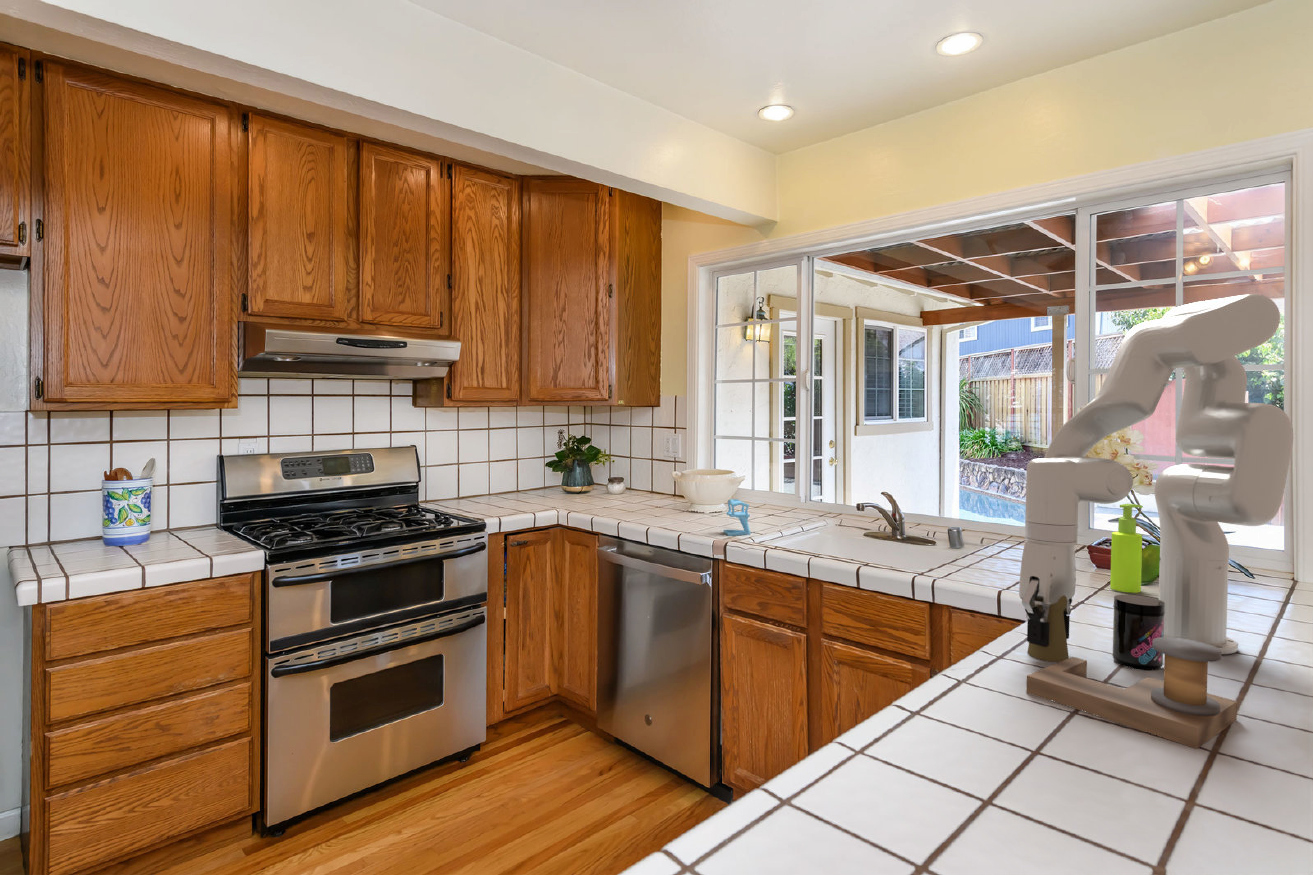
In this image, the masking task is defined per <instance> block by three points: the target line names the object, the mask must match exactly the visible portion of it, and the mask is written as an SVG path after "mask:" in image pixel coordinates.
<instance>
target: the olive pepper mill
mask: <svg viewBox="0 0 1313 875" xmlns="http://www.w3.org/2000/svg"><path fill="white" fill-rule="evenodd" d="M1043 600H1044V599H1041V598H1036V601H1041V602H1043ZM1035 606H1036V607H1038V608H1039V609H1040V611H1041V612H1042V606H1038V605H1035ZM1066 607H1067V597H1066V596H1062V597H1060V599H1059V600H1058V602H1057V603H1055V604H1052V605H1050V608H1049V612H1048V617H1047V621H1046V622H1049V646H1047V647H1043V646H1039V645H1035V644H1032V643H1029V642H1028V647H1027V652H1026V653H1027V654H1028V656H1031V657H1032V658H1035V659H1038V660H1042V661H1046V662H1054V663H1059V662H1061V661H1063V660H1066V659H1068V658H1070V657H1069V649H1068V642H1067V641H1068V639H1066V631H1065V623H1064V615H1063V611H1064V610H1065V609H1066Z"/></svg>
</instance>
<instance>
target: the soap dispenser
mask: <svg viewBox="0 0 1313 875" xmlns="http://www.w3.org/2000/svg"><path fill="white" fill-rule="evenodd" d="M1119 508H1122V516H1121V517H1118V525H1117V526H1118V527H1117V528H1118V529H1117V531H1112V532H1111V544H1110V545H1111V547H1110V548H1111V549H1110V582H1109V583H1110V589H1111V590H1114V591H1116V592H1121V593H1135V594H1137V593H1141V591H1142V563H1143V561H1142V560H1143V534H1140V533H1138V532H1137V519H1136V518H1134V517H1133V508H1138V509H1139V508H1140V509H1142V508H1143V505H1141V504H1134V503H1122V504H1119Z"/></svg>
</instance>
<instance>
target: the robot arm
mask: <svg viewBox="0 0 1313 875" xmlns="http://www.w3.org/2000/svg"><path fill="white" fill-rule="evenodd" d="M1280 323H1281V312H1280V310H1279V307H1278V305H1277V304H1276V302H1274V301H1273V299H1271V298H1270V297H1268V296H1265V295H1263V294H1259V293H1247V294H1241V295H1234V296H1228V297H1223V298H1222V297H1221V298H1217V299H1210V300H1208V299H1207V300H1205V301H1204V300H1203V301H1202V300H1201V301H1196V302H1192V303H1191V302H1190V303H1188V304H1183V305H1181V306H1177V307H1176V306H1175V307H1174V308H1172V309H1169V311H1167V312H1166V313H1165V314H1164V315H1163V317H1162V318H1159V319H1153V320H1149V321H1144V322H1141V323H1139V324H1136V325H1134V326H1133V327H1132V328H1130V329H1129V331H1127V333H1126V334H1125V336H1124V338H1123V340H1122V342H1121V345H1120V347H1119V349H1118V351H1117V353H1116V355H1115V357H1114V359H1113V362H1112V364H1111V366H1110V368H1109V370H1108V372H1107V374H1106V377H1105V379H1104V381H1103V383H1102V384H1101V387H1100V389H1099V392H1098V393H1097V395H1096V396H1095V397H1094V398H1093V400H1091V401H1090V402H1088V403H1087V404H1085V405H1084V406H1083V407H1082V408H1081V409H1079V411H1077V412H1076V413H1075V414H1074V415H1073V416H1071V418H1070V419H1068V420H1067V421H1066V422H1065V423H1064V424H1063V425H1062V426H1061V427H1060V428H1059V430H1058V431H1057V432H1056V433H1055V435H1054V437H1053V438H1052V440H1051V442H1050V444H1049V446H1048V448H1047V450H1046V452H1045V454H1044V456H1043V458H1034V459H1031V460H1029V462H1028V463H1027V465H1026V475H1025V476H1026V477H1025V479H1026V480H1025V481H1026V482H1025V483H1026V484H1025V515H1024V516H1025V523H1024V540H1025V542H1024V546H1023V550H1022V556H1021V563H1020V574H1019V589H1018V596H1019V599H1020V600H1021V604H1022V606H1023V609H1024V610H1025V612H1026V615H1025V618H1026V620H1027V623H1026V624H1027V626H1026V628H1027V630H1026V631H1027V632H1026V634H1027V635H1026V640H1027V643H1028V644H1029V643H1032V644H1035V645H1039V646H1043V647H1047V646H1049V622H1046V621H1047V617H1048V612H1049V608H1050V605H1052V604H1055V603H1057V602H1058V600H1059V599H1060V597H1062V596H1066V597H1067V607H1066V609H1065V610H1064V611H1063V615H1064V623H1065V631H1066V639H1067V640H1068V639H1069V638H1070V619H1071V618H1070V617H1071V616H1070V615H1071V612H1072V608H1071V604H1072V603H1073V598H1074V596H1075V593H1076V587H1077V586H1076V583H1077V571H1076V570H1077V568H1076V567H1077V566H1076V564H1077V563H1076V549H1075V548H1076V547H1075V546H1077V545H1078V532H1079V531H1078V529H1079V523H1078V522H1079V503H1080V502H1086V503H1091V504H1092V503H1093V504H1099V505H1110V504H1114V503H1118V502H1120V501H1122V500H1123V499H1125V498H1126V497H1127V496H1128V495H1129V494H1130V492H1131V491H1132V489H1133V485H1134V478H1133V475H1132V473H1131V471H1130V470H1129V468H1128V467H1126V466H1125V465H1124V464H1123V463H1121V462H1119V461H1117V460H1114V459H1111V458H1104V457H1103V458H1102V457H1091V456H1087V455H1088V453H1089V452H1090V451H1091V450H1093V448H1094V447H1095V446H1096V445H1097V444H1098V443H1099V442H1101V441H1102V440H1103V439H1104V438H1105V439H1106V437H1109V436H1110V435H1112V434H1114V433H1116V432H1119V431H1123V430H1124V429H1126V428H1130V427H1132V426H1134V425H1135V424H1139V423H1140V422H1142V421H1145V420H1147V419H1149V418H1150V417H1151V416H1152V415H1153V414H1154V413H1155V412H1156V409H1157V406H1158V404H1159V402H1160V400H1161V397H1162V395H1163V393H1164V390H1165V389H1166V387H1167V384H1168V383H1169V380H1170V378H1171V376H1172V373H1173V372H1174V371H1175V370H1176V369H1180V368H1183V369H1182V370H1183V373H1184V379H1185V380H1184V385H1183V386H1184V389H1183V395H1182V399H1181V404H1180V410H1179V415H1178V420H1177V425H1176V426H1177V427H1176V432H1175V433H1176V434H1175V441H1176V445H1177V447H1178V449H1179V450H1180V451H1181V452H1183V453H1184V454H1187V455H1188V456H1193V457H1199V458H1206V459H1207V458H1209V459H1221V460H1222V459H1224V460H1234V464H1233V465H1234V466H1225V465H1223V466H1222V465H1217V464H1216V465H1215V464H1214V465H1213V464H1199V463H1183V464H1176V465H1173V466H1169V467H1168V468H1166V469H1164V470H1163V471H1161V472H1160V474H1159V475H1158V477H1157V478H1156V480H1155V483H1154V499H1155V503H1156V508H1157V512H1158V519H1159V532H1160V534H1159V535H1160V537H1159V540H1160V542H1159V543H1160V544H1159V570H1158V572H1159V574H1158V575H1159V577H1158V600H1160V601H1163V602H1164V603H1165V614H1164V637H1171V638H1181V639H1188V640H1193V641H1198V642H1202V643H1205V644H1209V645H1212V646H1214V647H1216V648H1218V649H1220V650H1221V652H1222V655H1230V654H1234V653H1237V652H1239V645H1238V642H1237V641H1235V640H1234V639H1233V638H1229V637H1227V629H1228V628H1227V624H1228V622H1227V621H1228V598H1229V597H1228V594H1229V593H1228V590H1229V589H1228V588H1229V564H1230V561H1229V559H1230V546H1229V542H1228V539H1227V537H1226V534H1225V532H1224V531H1223V529H1222V527H1221V525H1220V524H1219V523H1222V524H1229V525H1230V524H1231V525H1236V526H1244V527H1247V526H1248V527H1259V526H1263V525H1266V524H1268V523H1270V522H1271V521H1272V520H1273V519H1274V518H1275V517H1276V515H1277V514H1278V512H1279V511H1280V507H1281V506H1282V503H1283V497H1284V493H1285V488H1286V484H1287V483H1286V482H1287V477H1288V472H1289V467H1290V462H1291V457H1292V451H1293V444H1294V428H1293V425H1292V422H1291V419H1290V417H1289V416H1288V414H1287V412H1286V411H1284V410H1283V409H1282V408H1280V407H1278V406H1276V405H1274V404H1270V403H1263V402H1262V403H1261V402H1246V394H1247V388H1248V387H1247V386H1248V375H1247V372H1246V369H1245V367H1244V366H1243V364H1242V362H1241V361H1240V360H1239V359H1238V358H1237V355H1238V356H1239V354H1242V353H1244V352H1248V351H1250V350H1252V349H1255V348H1257V347H1259V346H1262V345H1263V344H1265V343H1267V341H1269V340H1270V339H1271V338H1272V337H1273V336H1274V335H1275V334H1276V332H1277V330H1278V328H1279V326H1280ZM1036 598H1041V599H1044V600H1043V602H1041V601H1036ZM1035 605H1038V606H1042V612H1041V611H1040V609H1039V608H1038V607H1036V606H1035Z"/></svg>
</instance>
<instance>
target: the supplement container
mask: <svg viewBox="0 0 1313 875" xmlns="http://www.w3.org/2000/svg"><path fill="white" fill-rule="evenodd" d="M1112 607H1113V619H1112V620H1113V621H1112V622H1113V624H1112V626H1113V627H1112V658H1113V660H1114V661H1115V662H1116V664H1118V665H1121V666H1123V667H1126V668H1130V669H1133V668H1134V670H1138V669H1139V670H1140V671H1158V670H1160V669H1161V668H1162V667H1163V666H1164V654H1163V653H1160V652H1158V651H1156V650H1155V649H1154V648H1153V647H1152V646H1153V639H1155V638H1160V637H1164V614H1165V603H1164V602H1163V601H1160V600H1159V599H1157V598H1155V597H1148V596H1143V595H1135V594H1115V595H1113V605H1112Z"/></svg>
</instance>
